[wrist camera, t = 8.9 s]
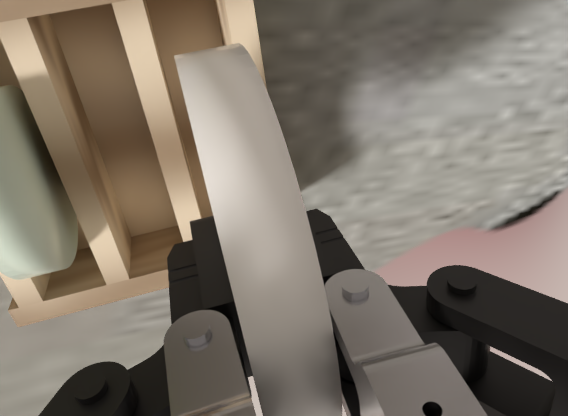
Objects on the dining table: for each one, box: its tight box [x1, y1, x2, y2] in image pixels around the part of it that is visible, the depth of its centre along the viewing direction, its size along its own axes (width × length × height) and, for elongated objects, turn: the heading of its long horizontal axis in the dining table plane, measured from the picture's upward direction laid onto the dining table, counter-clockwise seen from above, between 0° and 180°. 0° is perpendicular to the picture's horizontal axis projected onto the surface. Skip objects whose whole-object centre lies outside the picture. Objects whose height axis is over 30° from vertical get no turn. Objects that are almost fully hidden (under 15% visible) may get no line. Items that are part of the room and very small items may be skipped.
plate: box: [174, 43, 342, 416], centre depth 13 cm, size 2×10×10 cm, turn 8°
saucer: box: [0, 85, 78, 280], centre depth 18 cm, size 2×7×7 cm, turn 8°
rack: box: [0, 0, 267, 327], centre depth 20 cm, size 13×13×5 cm
